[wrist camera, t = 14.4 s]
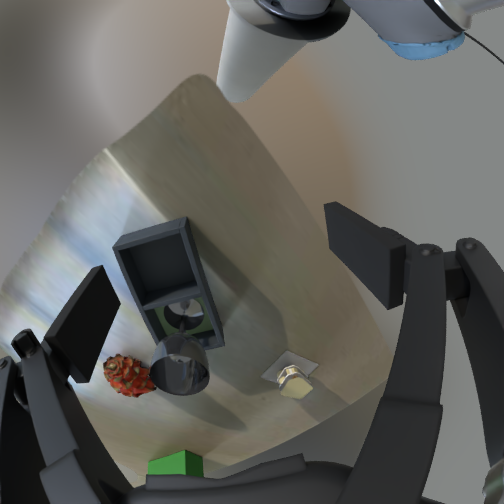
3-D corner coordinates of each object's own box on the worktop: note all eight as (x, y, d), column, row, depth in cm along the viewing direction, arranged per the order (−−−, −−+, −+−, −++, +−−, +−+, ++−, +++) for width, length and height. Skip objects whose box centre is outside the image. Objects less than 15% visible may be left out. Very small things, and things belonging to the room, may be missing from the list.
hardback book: (165, 469, 70) (166, 527, 48) (148, 462, 67) (146, 522, 45) (202, 457, 68) (208, 523, 46) (184, 449, 65) (188, 519, 43)
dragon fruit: (107, 340, 49) (156, 363, 55) (92, 374, 46) (141, 395, 52) (115, 351, 43) (170, 376, 48) (97, 390, 40) (153, 412, 45)
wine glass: (172, 286, 45) (162, 346, 31) (215, 306, 47) (220, 368, 33) (154, 320, 46) (141, 383, 33) (194, 338, 49) (194, 401, 35)
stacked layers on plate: (319, 364, 58) (327, 381, 53) (292, 388, 60) (299, 406, 55) (286, 349, 54) (293, 368, 49) (259, 376, 56) (264, 395, 51)
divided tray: (186, 216, 42) (184, 225, 37) (222, 328, 50) (225, 346, 45) (121, 235, 41) (111, 247, 36) (166, 340, 49) (163, 358, 45)
